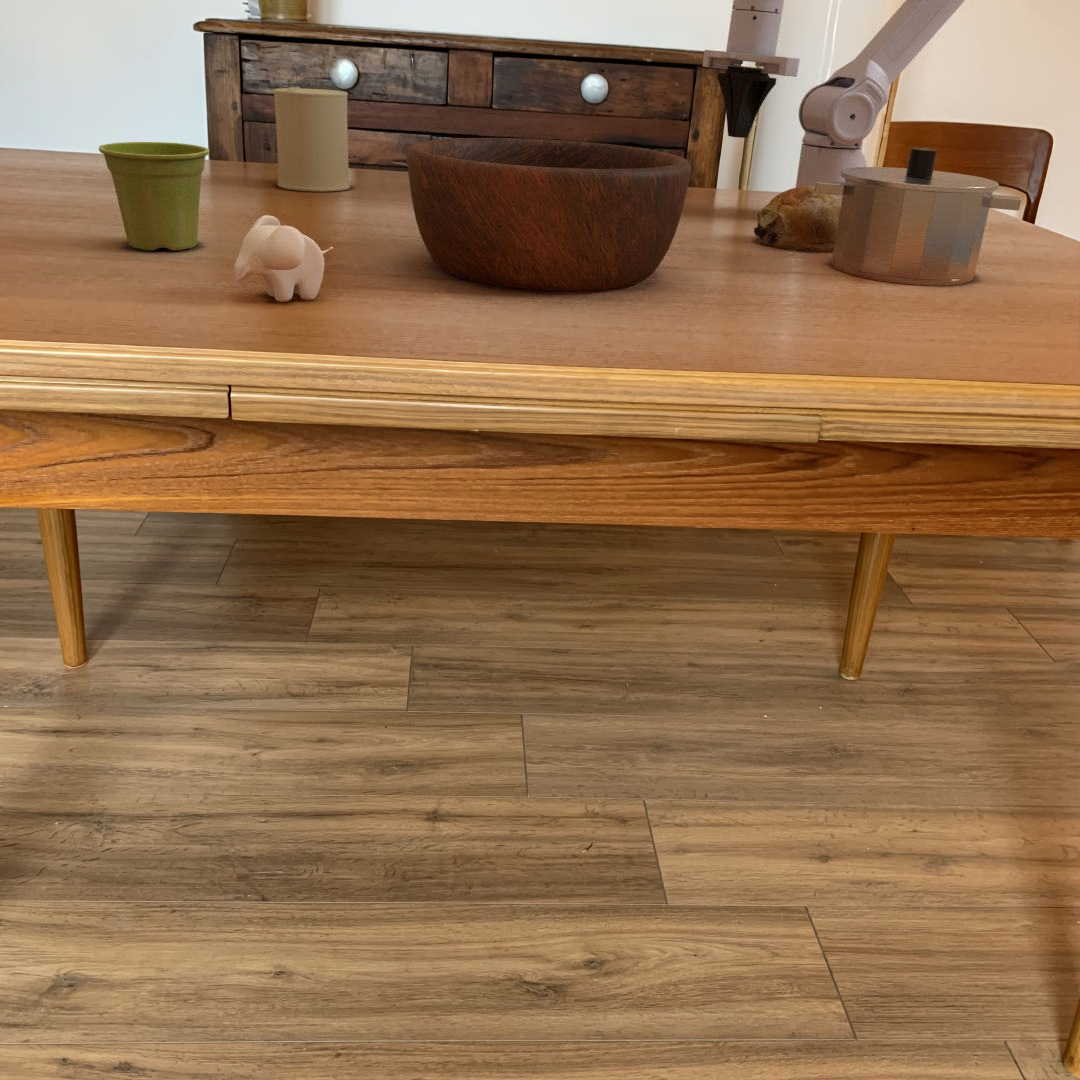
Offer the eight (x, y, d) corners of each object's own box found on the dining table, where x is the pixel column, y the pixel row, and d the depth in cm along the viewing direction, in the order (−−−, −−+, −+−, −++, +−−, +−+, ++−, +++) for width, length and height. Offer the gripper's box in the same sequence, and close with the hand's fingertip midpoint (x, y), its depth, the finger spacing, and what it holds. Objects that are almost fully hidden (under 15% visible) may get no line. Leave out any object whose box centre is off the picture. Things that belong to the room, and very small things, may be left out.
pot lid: (841, 174, 114) (847, 137, 112) (989, 186, 111) (997, 148, 109) (837, 190, 101) (843, 149, 100) (1003, 204, 98) (1013, 162, 96)
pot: (808, 250, 117) (821, 167, 114) (994, 268, 113) (1014, 182, 109) (800, 273, 105) (814, 181, 102) (1008, 294, 101) (1030, 199, 97)
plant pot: (237, 244, 104) (230, 148, 100) (167, 260, 96) (157, 156, 92) (160, 233, 107) (151, 139, 104) (87, 246, 99) (74, 146, 96)
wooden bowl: (640, 246, 114) (649, 142, 109) (715, 302, 92) (731, 174, 87) (399, 242, 109) (398, 133, 105) (417, 299, 87) (417, 164, 83)
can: (264, 183, 142) (258, 83, 137) (325, 180, 147) (322, 84, 142) (302, 193, 136) (298, 89, 131) (364, 189, 141) (362, 89, 136)
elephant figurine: (222, 292, 86) (217, 214, 84) (320, 285, 90) (317, 211, 87) (246, 311, 81) (241, 229, 78) (349, 304, 85) (347, 225, 82)
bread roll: (827, 288, 117) (872, 221, 113) (745, 239, 116) (788, 170, 113) (823, 271, 126) (865, 208, 122) (747, 225, 125) (786, 161, 121)
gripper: (690, 7, 129) (674, 128, 135) (774, 11, 118) (753, 143, 124) (735, 12, 133) (718, 130, 139) (820, 17, 122) (798, 145, 128)
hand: (737, 137), depth 132 cm, fingers closed
